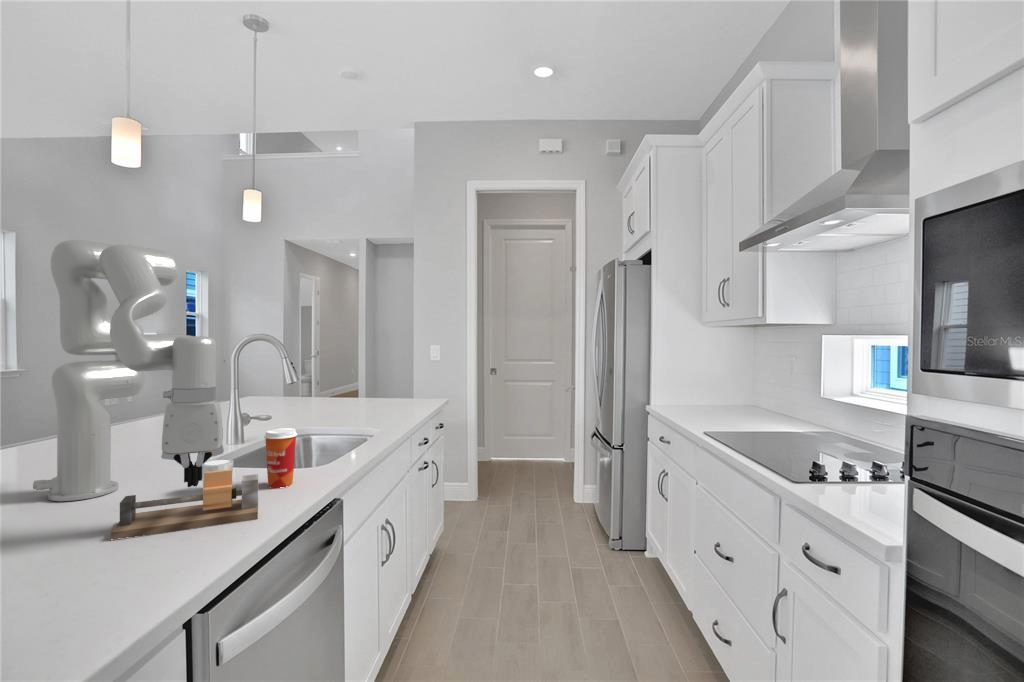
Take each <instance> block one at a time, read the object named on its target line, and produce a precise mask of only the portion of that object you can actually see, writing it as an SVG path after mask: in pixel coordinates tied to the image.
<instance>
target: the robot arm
mask: <svg viewBox="0 0 1024 682" xmlns="http://www.w3.org/2000/svg"><path fill="white" fill-rule="evenodd" d="M50 271H51V275H52V278H53V282H54V285H55V286H56V289H57V294H58V295H59V297H58V298H59V338H60V344H61V348H62V350H63V351H64V352H65V353H66V354H70V355H75V356H114V357H115V360H83V361H82V360H81V361H72V362H68V363H64V364H61V365H60V366H58V367H57V368H56V369H55V370H54V371H53V373H52V375H51V387H52V392H53V396H54V401H55V406H56V424H57V425H56V430H57V432H56V437H57V438H56V442H57V443H56V446H57V447H56V451H57V452H56V453H57V454H56V455H57V456H56V460H57V461H56V463H57V464H56V477H55V476H54V477H52V478H51V479H40V480H33V483H32V488H33V490H36V491H41V490H50V491H49V492H48V493H47V499H48V500H49V501H53V502H72V501H80V500H86V499H92V498H97V497H102V496H105V495H108V494H111V493H113V492H115V491H117V490H118V489H119V482H117V481H115V480H111V454H112V453H111V446H112V445H111V439H112V438H111V437H112V436H111V435H112V434H111V428H112V426H111V424H112V423H111V416H110V413H109V412H108V411H107V410H106V408H105V407H103V406H102V404H100V402H99V401H102V400H109V399H110V400H112V399H122V398H129V397H134V396H136V395H138V394H140V393H141V391H142V390H143V389H144V386H145V382H146V372H155V371H156V372H157V371H158V372H159V371H171V373H172V374H171V376H172V377H171V378H172V379H171V389H170V390H167V391H163V392H162V398H163V399H169V400H170V403H168V404H166V407H165V411H164V417H163V424H162V433H161V434H162V436H161V451H162V454H161V456H160V457H161V459H163V460H170V461H176V463H178V464H179V465H181V466H182V468H183V483H187V488H191V487H197V486H198V484H199V482H200V481H202V482H203V480H202V465H203V464H204V463H205V462H207V461H209V460H210V458H212V457H216V456H219V455H222V454H224V452H225V448H224V446H223V438H224V435H223V434H224V432H223V429H224V428H223V415H222V409H221V406H220V405H221V403H220V401H218V400H216V399H217V397H216V396H217V395H216V394H217V393H216V390H217V385H216V384H217V381H216V380H217V342H216V340H215V339H214V338H213V337H209V336H201V335H200V336H199V335H198V336H197V335H196V336H195V335H190V334H187V335H186V334H159V333H158V334H154V333H153V334H152V333H151V334H149V333H148V334H145V333H144V330H143V328H142V326H141V324H140V323H139V322H138V321H137V320H139V319H142V318H145V317H148V316H151V315H153V314H156V313H157V312H159V311H160V310H162V309H163V308H164V307H165V306H166V304H167V302H168V294H167V293H166V291H165V289H164V288H163V287H166V286H171V285H172V284H173V283H175V281H176V280H177V278H178V275H179V267H178V264H177V261H176V259H175V258H174V257H173V256H172V255H171V254H170V253H169V252H167V251H165V250H161V249H154V248H149V247H143V246H136V245H132V244H131V245H129V244H108V243H103V242H99V241H97V242H96V241H91V240H90V241H89V240H83V239H82V240H80V239H79V240H78V239H76V240H74V239H72V240H71V239H70V240H64V241H61V242H59V243H58V244H57V245H55V247H54V248H53V251H52V253H51V256H50ZM93 279H98V280H106V281H107V282H108V284H109V287H111V290H112V291H113V293H114V295H115V297H116V300H117V301H118V303H119V306H118V307H117V308H116V310H115V311H114V313H113V314H112V316H109V314H108V298H107V295H106V293H105V292H104V291H103V289H102V288H101V287H100V286H99V285H98V284H97V282H96V281H94V280H93ZM191 454H197V457H196V461H195V462H194V464H193V461H192V458H191Z"/></svg>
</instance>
